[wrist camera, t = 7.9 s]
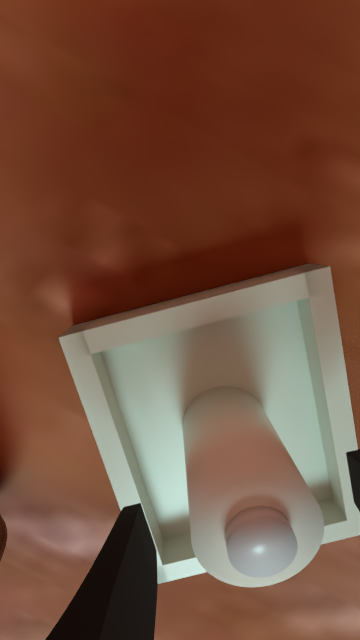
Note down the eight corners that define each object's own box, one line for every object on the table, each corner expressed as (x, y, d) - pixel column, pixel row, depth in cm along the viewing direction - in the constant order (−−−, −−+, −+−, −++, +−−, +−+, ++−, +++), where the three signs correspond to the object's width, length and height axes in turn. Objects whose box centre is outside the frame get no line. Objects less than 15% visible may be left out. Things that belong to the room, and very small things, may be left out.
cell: (272, 450, 16) (341, 586, 10) (193, 470, 16) (210, 617, 10) (256, 377, 15) (321, 473, 9) (173, 398, 15) (176, 509, 9)
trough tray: (347, 500, 17) (370, 532, 15) (150, 548, 18) (148, 586, 16) (308, 263, 14) (330, 266, 13) (72, 325, 15) (58, 337, 13)
